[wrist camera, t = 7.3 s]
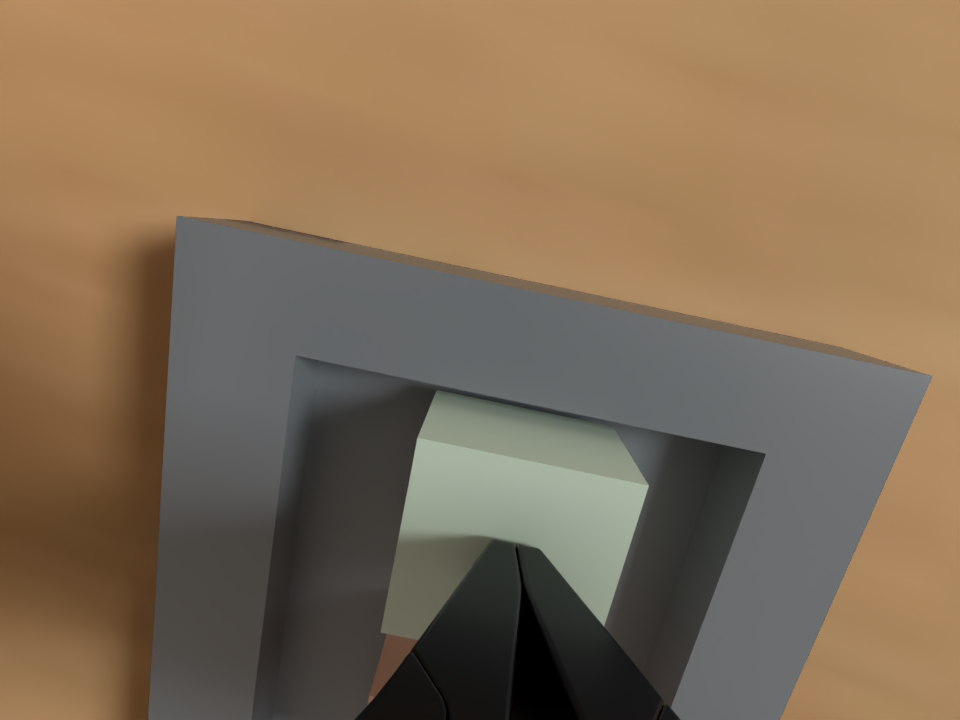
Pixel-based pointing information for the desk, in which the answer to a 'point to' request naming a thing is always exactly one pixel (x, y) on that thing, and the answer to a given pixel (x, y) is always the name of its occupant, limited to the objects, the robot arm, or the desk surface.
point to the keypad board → (508, 380)
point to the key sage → (511, 503)
